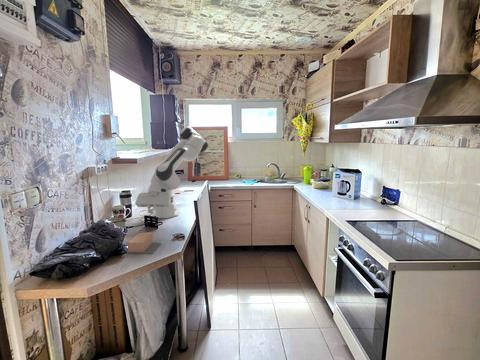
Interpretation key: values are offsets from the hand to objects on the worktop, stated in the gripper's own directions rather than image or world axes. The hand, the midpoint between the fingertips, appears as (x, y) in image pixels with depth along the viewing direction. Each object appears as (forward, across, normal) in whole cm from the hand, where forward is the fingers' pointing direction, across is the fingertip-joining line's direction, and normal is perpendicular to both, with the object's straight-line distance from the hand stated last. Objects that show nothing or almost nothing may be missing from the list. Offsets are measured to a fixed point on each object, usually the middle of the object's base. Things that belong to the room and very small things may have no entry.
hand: (150, 212), depth 151 cm
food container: (+10, -23, +11) cm, 27 cm away
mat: (+22, 0, -2) cm, 22 cm away
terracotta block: (+14, 0, +2) cm, 15 cm away
